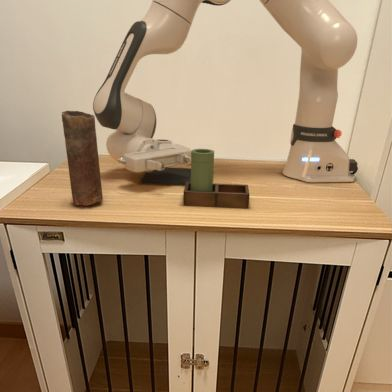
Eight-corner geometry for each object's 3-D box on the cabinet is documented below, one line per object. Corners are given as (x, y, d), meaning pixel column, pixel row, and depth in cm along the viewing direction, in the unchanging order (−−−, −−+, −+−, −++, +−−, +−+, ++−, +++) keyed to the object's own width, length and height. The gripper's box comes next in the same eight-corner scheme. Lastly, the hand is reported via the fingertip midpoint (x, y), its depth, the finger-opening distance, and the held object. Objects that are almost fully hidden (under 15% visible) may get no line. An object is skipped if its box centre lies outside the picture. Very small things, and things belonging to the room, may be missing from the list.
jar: (212, 198, 109) (214, 149, 102) (211, 204, 104) (214, 154, 97) (191, 197, 109) (192, 148, 102) (189, 204, 105) (190, 153, 97)
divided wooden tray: (246, 198, 110) (248, 184, 108) (248, 208, 103) (249, 194, 101) (186, 195, 110) (186, 182, 108) (183, 205, 103) (183, 191, 101)
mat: (211, 172, 131) (211, 169, 130) (209, 186, 118) (210, 182, 117) (149, 169, 131) (149, 166, 131) (141, 183, 118) (140, 179, 118)
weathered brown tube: (91, 197, 107) (80, 109, 95) (110, 203, 103) (101, 112, 91) (67, 203, 102) (52, 111, 90) (85, 210, 99) (73, 115, 87)
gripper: (113, 147, 109) (143, 156, 101) (172, 139, 120) (204, 146, 112) (115, 172, 113) (145, 183, 105) (173, 162, 124) (203, 171, 116)
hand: (176, 164), depth 109 cm, fingers open, 8 cm apart
